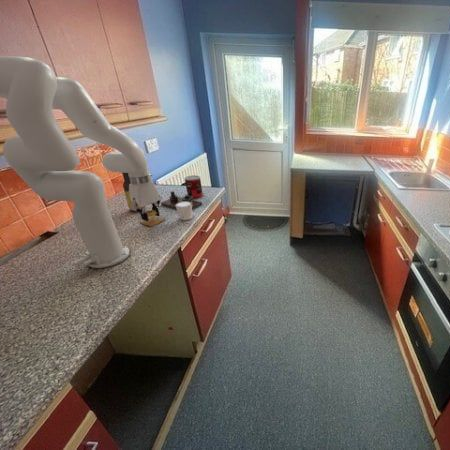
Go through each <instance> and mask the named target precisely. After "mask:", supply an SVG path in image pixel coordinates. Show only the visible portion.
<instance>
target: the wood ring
mask: <svg viewBox="0 0 450 450" xmlns="http://www.w3.org/2000/svg"><path fill="white" fill-rule="evenodd" d="M181 198H182V201H186V202H187V201H191V200H194V198H193V197H192V196H189V199H186V198H185V196H183V197H181Z"/></svg>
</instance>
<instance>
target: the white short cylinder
mask: <svg viewBox="0 0 450 450" xmlns="http://www.w3.org/2000/svg"><path fill="white" fill-rule="evenodd" d="M175 206H176V209H175V210H176V212H177V214H178V217H179V220H181V221H188V220H191V219H192V218H193V210H192V205H191V202H186V201H185V202H179V203H177V204H176V205H175Z"/></svg>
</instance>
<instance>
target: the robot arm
mask: <svg viewBox="0 0 450 450" xmlns="http://www.w3.org/2000/svg"><path fill="white" fill-rule="evenodd" d="M0 98H2V99H6V102H5V103H6V104H5V114H6V119H7V120H8V123H9V124H10V125H11V127H12V128H13V130H14V131H15V133H16V134H17V135H13V136H11V137H9V138H7V139H6V140H5V141H4V142H3V146H2V153H3V156H4V158H5V160H6V162H7V164H8V166H10V167H11V169H12V170H13V171H14V172H15V173H16V174H17V175H18V176H19V178H21V179H22V181H23V182H24V183H25V184H26V185H27V186H28V187H29V189H31V190H32V191H33V192H34V193H35V194H36V195H37V196H38V197H40V198H42V199H45V200H48V201H53V202H54V201H55V202H70V203H73V208H72V213H71V214H72V220H73V222H74V224H75V226H76V229H77V230H78V232H79V234H80V237H81V239H82V242H83V244H84V246H85V248H86V251H85V252H84V255H83V256H82V257H81V258H79V259H77V260H75V261H73V262H72V264H73V266H74V267H76V268H78V267H80V266H81V265H83V266H84V267H87V266H88V267H90V268H93V269H94V268H95V269H103V268H109V267H112V266H115V265H117V264H120V263H122V262H123V261H125V260H126V259H127V258H128V257H129V256H130V253H131V251H130V249H129V247H128V246H125V245H123V244H122V241H121V238H120V235H119V232H118V230H117V227H116V225H115V221H114V219H113V216H112V214H111V211H110V208H109V205H108V201H107V197H106V189H105V184H104V181H103V179H102V178H101V177H100V176H99V175H97V174H96V173H94V172H91V171H87V170H76V169H77V168H78V166H79V165H80V161H81V160H80V156H79V155H78V152H77V151H76V149H75V147H74V146H73V144H72V143H71V141H70V140H69V138H68V137H67V135H66V134H65V132H64V131H63V129H62V128H61V126H60V124H59V123H58V122H57V120H56V118H55V117H56V116H54V111H53V110H61V111H62V112H63V114H64V115H65V116H66V117H67V118H68V119H69V121H70V122H71V123H72V124H73V125H74V127H75V128H76V129H77V130H78V131H79V132H80V134H81V135H82V136H83V137H84V138H87V139H89V140H91V141H93V142H96V143H99V144H102V145H104V146H107V147H111V148H112V149H114V150H116V151H109V152H107V153H105V154H104V155H103V157H102V160H101V164H102V167H104V169H105V170H107V171H109V172H112V173H118V174H119V173H121V174H122V173H128V175H129V178H130V182H131V184H129V192H130V197H131V201H132V205H131V208H129V210H130V209H131V210H135V212H137V213H139V215H140V218H141V220H142V221H148V219H149V217H148V216H147V213H145V211H146V207H147V206H150V205H151V210H156V212H157V213H156V215H154V217H160V215H161V214H160V211H159V210H160V209H159V208H160V205H161V201H162V200H163V197H162V196H161V195H160V194H159V191H158V189H157V186H156V185H155V182H154V181H153V180H152V177H153V174H152V173H151V172H150V170H149V165H148V160H147V158H146V154H145V151H144V150H143V149H142V148H141V147H140V146H139V144H138V143H137V142H136V141H135V140H134V139H132V138H131V136H128V135H127V134H126V133H124V132H123V131H122V130H120V129H118V128H117V127H115V126H114V125H112V124H111V123H110V122H109V121H108V119H107V118H106V117H105V116H104V114H103V113H102V111H101V110H100V108H99V107H98V105H97V104H96V103H95V101H94V100H93V98H92V97H91V95H90V94H89V93H88V91H87V89H85V87H84V86H83V85H82V84H81V83H80V82H78V81H77V80H75V79H72V78H70V77H63V76H56V74H55V72H54V70H53V69H52V68H51V67H50V66H49V65H48V63H45V62H43V61H42V60H40V59H37V58H33V57H27V56H18V55H17V56H12V55H5V56H4V55H0ZM137 205H138V208H136V206H137ZM141 208H142V210H141Z"/></svg>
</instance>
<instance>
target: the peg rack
mask: <svg viewBox="0 0 450 450" xmlns="http://www.w3.org/2000/svg"><path fill="white" fill-rule="evenodd" d="M169 193H170V196H169V197H168V198H169V199H166V200H163V201H162V202H161V201H160V205H161V206H163V207H167V208H170V209H175V210H177V209H176V206H175V205H176V204H177V203H179V202H185V201H182V197H181V196H178V195H177V194H175V191H174V190H171V191H170V192H169ZM184 197H185V198H186V199H189V195H188V194H184ZM187 202H191V205H192V211H193V210H194V209H197V208H198V207H200V206H202V205H203V202H202V201H198V200H194V199H193V200H191V201H187Z"/></svg>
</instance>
